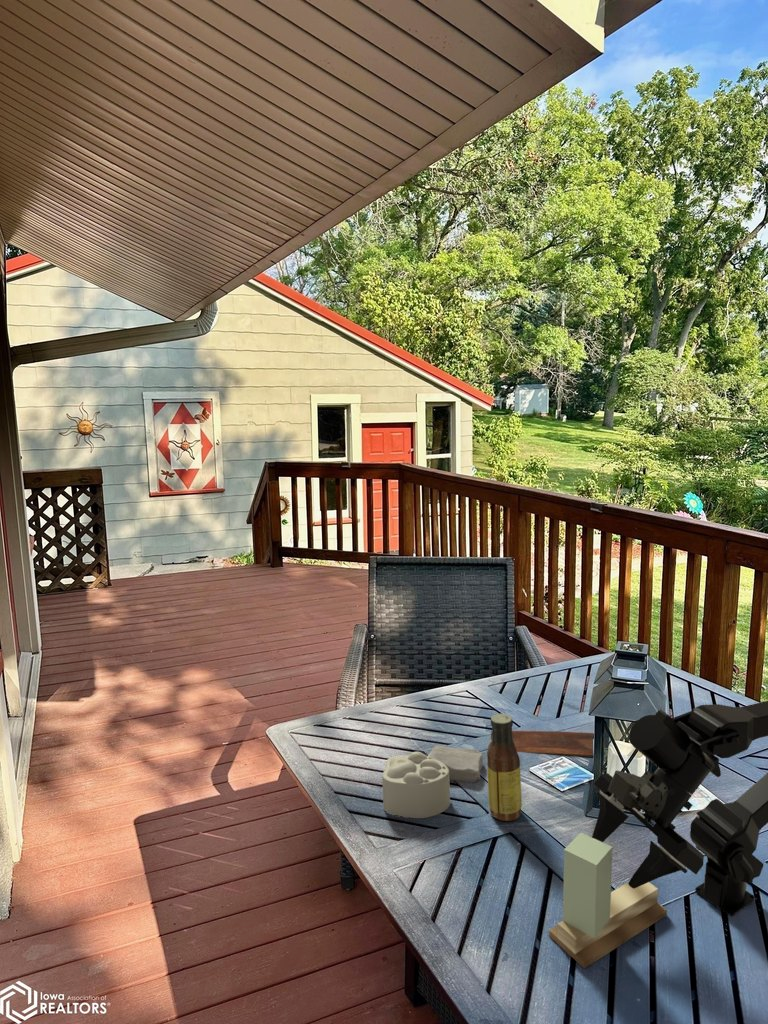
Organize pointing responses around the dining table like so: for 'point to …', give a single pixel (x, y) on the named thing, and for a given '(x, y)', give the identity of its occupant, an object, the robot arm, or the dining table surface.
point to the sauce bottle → (503, 771)
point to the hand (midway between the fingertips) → (610, 865)
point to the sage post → (587, 884)
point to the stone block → (459, 762)
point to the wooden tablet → (554, 742)
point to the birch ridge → (612, 924)
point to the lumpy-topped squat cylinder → (415, 786)
